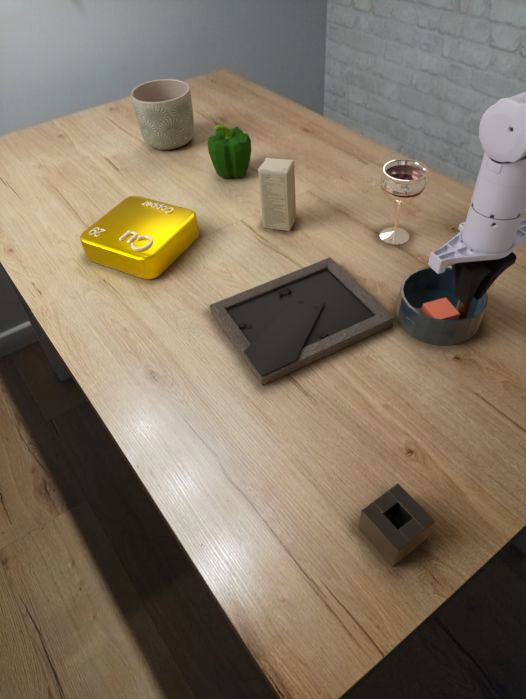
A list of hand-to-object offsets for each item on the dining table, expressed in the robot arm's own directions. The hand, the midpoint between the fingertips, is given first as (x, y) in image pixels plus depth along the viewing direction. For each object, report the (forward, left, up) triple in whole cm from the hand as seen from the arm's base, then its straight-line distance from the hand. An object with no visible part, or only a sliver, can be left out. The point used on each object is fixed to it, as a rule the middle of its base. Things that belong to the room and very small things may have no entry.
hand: (468, 297), depth 67 cm
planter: (+67, -40, -6) cm, 78 cm away
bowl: (+3, -2, -6) cm, 7 cm away
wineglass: (+13, -19, -6) cm, 24 cm away
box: (+33, -17, -6) cm, 37 cm away
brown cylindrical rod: (0, 0, -4) cm, 5 cm away
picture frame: (+22, +5, -6) cm, 23 cm away
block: (+3, +1, -5) cm, 6 cm away
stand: (+3, +32, -6) cm, 32 cm away
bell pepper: (+48, -31, -6) cm, 57 cm away
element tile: (+53, -4, -6) cm, 53 cm away
